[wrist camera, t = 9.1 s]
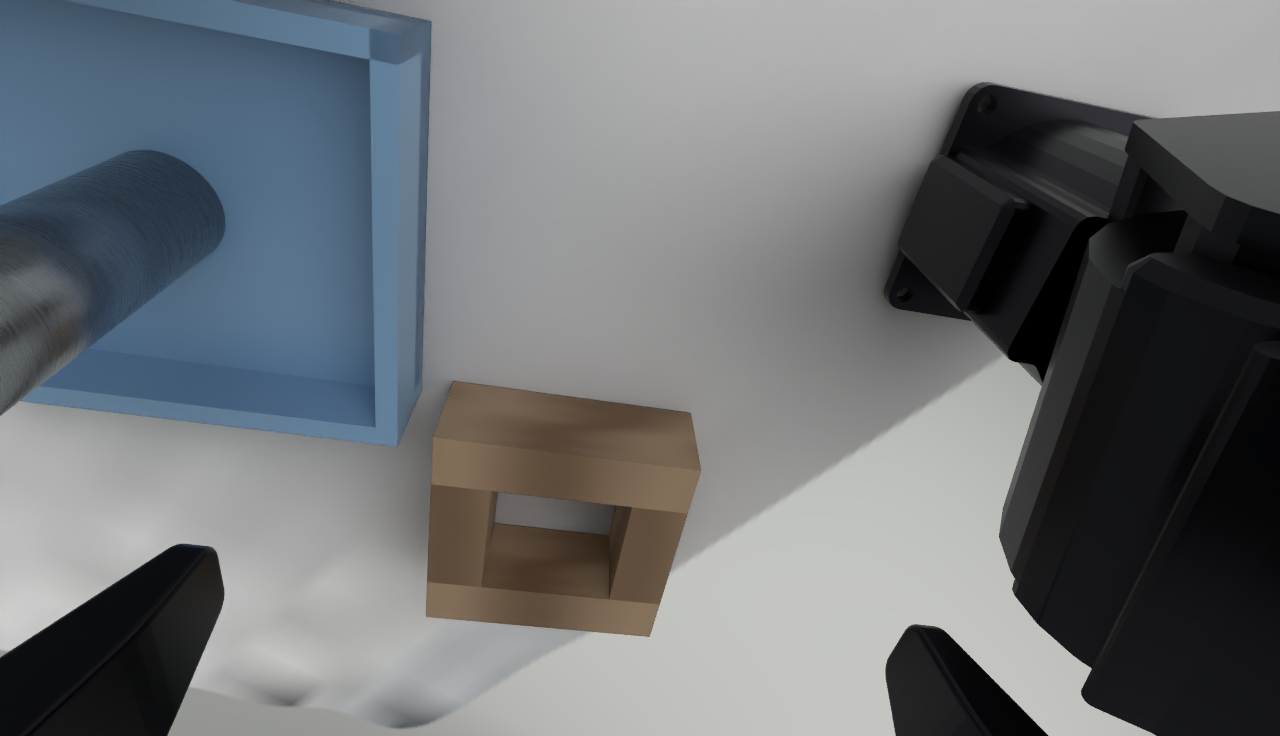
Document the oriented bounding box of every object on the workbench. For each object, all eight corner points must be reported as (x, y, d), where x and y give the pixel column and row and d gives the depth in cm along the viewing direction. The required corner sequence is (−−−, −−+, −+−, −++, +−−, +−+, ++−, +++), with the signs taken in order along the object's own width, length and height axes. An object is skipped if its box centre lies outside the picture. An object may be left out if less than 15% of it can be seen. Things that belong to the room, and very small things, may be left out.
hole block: (690, 413, 23) (701, 470, 21) (645, 572, 27) (649, 636, 25) (453, 381, 22) (432, 437, 20) (443, 551, 26) (425, 616, 24)
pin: (236, 145, 17) (-202, 378, 8) (252, 288, 19) (-77, 605, 10) (61, 114, 16) (-628, 327, 7) (98, 264, 18) (-405, 578, 9)
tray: (431, 21, 17) (399, 34, 14) (421, 389, 22) (397, 447, 20) (-174, -102, 15) (-336, -112, 12) (-18, 331, 20) (-107, 385, 18)
